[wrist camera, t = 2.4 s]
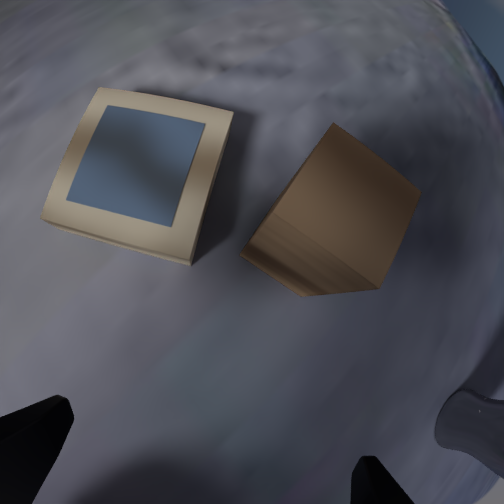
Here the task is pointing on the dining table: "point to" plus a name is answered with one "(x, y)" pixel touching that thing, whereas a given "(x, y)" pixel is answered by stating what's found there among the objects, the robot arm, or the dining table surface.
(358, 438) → the dining table surface
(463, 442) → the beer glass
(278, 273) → the walnut column
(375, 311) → the dining table surface
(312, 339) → the dining table surface
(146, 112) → the birch plinth
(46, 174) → the dining table surface
